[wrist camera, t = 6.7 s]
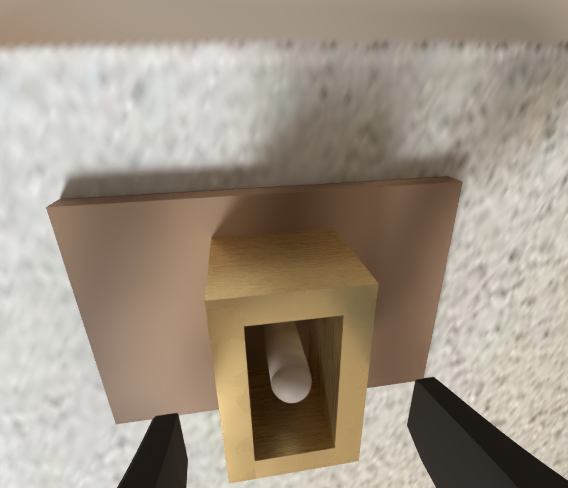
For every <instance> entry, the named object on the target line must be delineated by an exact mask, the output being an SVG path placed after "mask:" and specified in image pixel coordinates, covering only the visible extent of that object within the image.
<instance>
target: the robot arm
mask: <svg viewBox="0 0 568 488" xmlns="http://www.w3.org/2000/svg"><path fill="white" fill-rule="evenodd" d="M407 426H408V429H409V431H410V434H411V436H412V439H413V441H414V444H415V446H416V448H417V451H418V453H419V455H420V458H421V460H422V462H423V464H424V466H425V468H426V470H427V472H428V473H429V475H430V477H431V479H432V481H433V483H434V485H435V486H436V488H568V480H566V479H565V478H563V477H562V476H561V475H559V474H558V473H556V472H555V471H553V470H552V469H551V468H549V467H548V466H546V465H545V464H544V463H542V462H541V461H540V460H538V459H537V458H535V457H534V456H533V455H531V454H530V453H529V452H527V451H526V450H525V449H523V448H522V447H521V446H519V445H518V444H517V443H515V442H514V441H513V440H511V439H510V438H509V437H507V436H506V435H505V434H504V433H502V432H501V431H500V430H498V429H497V428H496V427H495V426H493V425H492V424H491V423H490V422H488V421H487V420H486V419H485V418H483V417H482V416H481V415H480V414H478V413H477V412H476V411H475V410H474V409H472V408H471V407H470V406H469V405H467V404H466V403H465V402H464V401H463V400H461V399H460V398H459V397H458V396H457V395H455V394H454V393H453V392H452V391H450V390H449V389H448V388H447V387H446V386H444V385H443V384H442V383H441V382H439V381H438V380H437V379H436V378H434V377H430V378H423V379H416V380H415V385H414V391H413V396H412V402H411V407H410V412H409V418H408V423H407ZM187 467H188V458H187V453H186V448H185V444H184V439H183V434H182V429H181V425H180V420H179V415H178V413H172V414H165V415H158V416H155V417H154V418H153V419H152V421H151V423H150V426H149V428H148V430H147V432H146V434H145V436H144V438H143V440H142V442H141V444H140V446H139V448H138V450H137V452H136V454H135V456H134V458H133V460H132V462H131V463H130V465H129V467H128V469H127V471H126V473H125V475H124V476H123V478H122V480H121V482H120V483H119V485H118V487H117V488H186V484H187Z"/></svg>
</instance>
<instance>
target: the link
mask: <svg viewBox="0 0 568 488" xmlns="http://www.w3.org/2000/svg"><path fill="white" fill-rule="evenodd" d="M378 284H379V283H378V282H377V281H376V280H375V278H374V277H373V276H372V275H371V273H370V272H369V271H368V270H367V269H366V267H365V266H364V265H363V264H362V262H361V261H360V260H359V259H358V257H357V256H356V255H355V254H354V252H353V251H352V250H351V249H350V248H349V246H348V245H347V244H346V243H345V241H344V240H343V239H342V238H341V236H340V235H339V234H338V233H337V231H336V230H335V229H321V230H307V231H294V232H280V233H267V234H254V235H240V236H227V237H213V238H211V245H210V254H209V264H208V273H207V282H206V291H205V308H206V316H207V323H208V330H209V338H210V345H211V353H212V360H213V368H214V375H215V382H216V390H217V397H218V405H219V412H220V420H221V427H222V434H223V442H224V449H225V457H226V464H227V472H228V479H229V483H234V482H240V481H246V480H251V479H257V478H263V477H269V476H275V475H280V474H286V473H292V472H298V471H304V470H309V469H315V468H321V467H327V466H333V465H338V464H344V463H350V462H356V461H359V453H360V444H361V435H362V426H363V417H364V408H365V399H366V391H367V382H368V373H369V364H370V355H371V346H372V337H373V328H374V319H375V310H376V302H377V293H378ZM306 319H309V356H308V362H307V364H308V367H309V371H310V374H311V379H312V384H311V388H310V391H309V393H308V395H307V396H306V397H305V398H304V399H303V400H301V401H299V402H296V403H287V402H284V401H282V400H280V399H279V398H278V397H277V396H276V395H275V394H274V392H273V390H272V386H271V381H270V374H269V368H268V367H264V368H256V369H248V368H247V355H246V343H245V330H244V326H252V325H261V324H270V323H279V322H288V321H297V320H306Z"/></svg>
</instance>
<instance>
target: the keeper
mask: <svg viewBox="0 0 568 488" xmlns="http://www.w3.org/2000/svg"><path fill="white" fill-rule="evenodd" d="M461 187H462V182H461V181H459V180H456V179H453V178H450V177H434V178H417V179H400V180H383V181H366V182H349V183H332V184H315V185H298V186H281V187H264V188H247V189H230V190H213V191H196V192H178V193H161V194H144V195H127V196H110V197H93V198H76V199H59V200H57V201H56V202H54V203H53V204H51V205H49V206H48V207H46V209H47V212H48V215H49V218H50V221H51V224H52V227H53V230H54V233H55V237H56V240H57V243H58V246H59V249H60V252H61V255H62V258H63V261H64V264H65V268H66V271H67V274H68V277H69V280H70V283H71V286H72V289H73V292H74V295H75V299H76V302H77V305H78V308H79V311H80V314H81V317H82V320H83V323H84V327H85V330H86V333H87V336H88V339H89V342H90V345H91V348H92V351H93V354H94V358H95V361H96V364H97V367H98V370H99V373H100V376H101V379H102V382H103V385H104V389H105V392H106V395H107V398H108V401H109V404H110V407H111V410H112V413H113V417H114V420H115V423H116V424H121V423H128V422H135V421H142V420H149V419H153V418H154V417H155V416H158V415H165V414H172V413H178V415H183V414H190V413H197V412H204V411H211V410H218V409H219V405H218V397H217V390H216V382H215V375H214V368H213V360H212V353H211V345H210V338H209V330H208V323H207V316H206V308H205V291H206V282H207V273H208V264H209V254H210V245H211V238H213V237H227V236H240V235H254V234H267V233H280V232H294V231H307V230H321V229H335V230H336V231H337V233H338V234H339V235H340V236H341V238H342V239H343V240H344V241H345V243H346V244H347V245H348V246H349V248H350V249H351V250H352V251H353V252H354V254H355V255H356V256H357V257H358V259H359V260H360V261H361V262H362V264H363V265H364V266H365V267H366V269H367V270H368V271H369V272H370V273H371V275H372V276H373V277H374V278H375V280H376V281H377V282H378V283H379V284H378V293H377V302H376V310H375V319H374V328H373V337H372V346H371V355H370V364H369V373H368V382H367V388H370V387H377V386H384V385H391V384H398V383H405V382H412V381H415V380H416V379H423V378H424V373H425V368H426V363H427V358H428V353H429V348H430V343H431V338H432V333H433V328H434V323H435V318H436V313H437V308H438V302H439V297H440V292H441V287H442V282H443V277H444V272H445V267H446V262H447V257H448V252H449V247H450V242H451V237H452V232H453V227H454V222H455V217H456V212H457V207H458V202H459V197H460V192H461ZM244 330H245V343H246V355H247V368H248V369H256V368H264V367H268V368H269V374H270V381H271V386H272V390H273V392H274V394H275V395H276V396H277V397H278V398H279V399H280V400H282V401H284V402H287V403H296V402H299V401H301V400H303V399H304V398H305V397H306V396H307V395H308V393H309V391H310V388H311V384H312V379H311V374H310V371H309V367H308V364H307V362H308V356H309V319H306V320H297V321H288V322H279V323H270V324H261V325H252V326H244Z"/></svg>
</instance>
